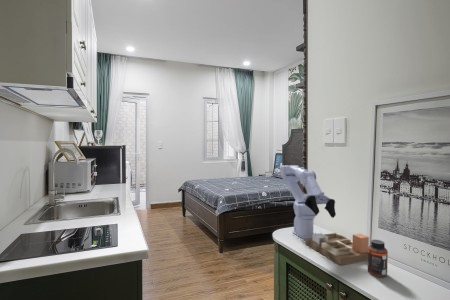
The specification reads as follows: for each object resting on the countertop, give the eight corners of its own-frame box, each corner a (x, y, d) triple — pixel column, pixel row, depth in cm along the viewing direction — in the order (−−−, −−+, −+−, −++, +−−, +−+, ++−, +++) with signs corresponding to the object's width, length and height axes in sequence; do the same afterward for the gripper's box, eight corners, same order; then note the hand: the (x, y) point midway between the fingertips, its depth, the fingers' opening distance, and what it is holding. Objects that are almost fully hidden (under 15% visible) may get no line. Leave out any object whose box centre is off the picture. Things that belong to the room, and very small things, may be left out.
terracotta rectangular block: (352, 249, 105) (352, 234, 105) (360, 248, 106) (360, 233, 106) (360, 253, 101) (360, 238, 101) (368, 252, 103) (368, 236, 102)
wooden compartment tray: (305, 244, 117) (305, 235, 117) (334, 239, 122) (334, 231, 122) (340, 265, 97) (340, 254, 97) (373, 258, 102) (373, 248, 102)
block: (312, 241, 114) (312, 234, 113) (321, 240, 115) (321, 233, 115) (319, 245, 109) (319, 238, 109) (328, 243, 111) (328, 236, 111)
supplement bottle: (390, 279, 87) (391, 245, 87) (370, 277, 89) (371, 244, 88) (383, 270, 93) (383, 238, 93) (365, 268, 95) (365, 237, 94)
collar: (321, 247, 107) (321, 242, 107) (337, 245, 109) (337, 240, 109) (335, 255, 99) (335, 250, 99) (352, 252, 102) (352, 247, 102)
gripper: (303, 181, 114) (314, 205, 102) (332, 187, 117) (346, 210, 106) (296, 193, 117) (306, 217, 106) (324, 198, 121) (337, 222, 109)
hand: (325, 214), depth 106 cm, fingers open, 7 cm apart
